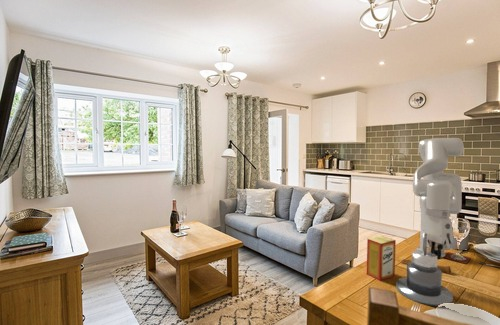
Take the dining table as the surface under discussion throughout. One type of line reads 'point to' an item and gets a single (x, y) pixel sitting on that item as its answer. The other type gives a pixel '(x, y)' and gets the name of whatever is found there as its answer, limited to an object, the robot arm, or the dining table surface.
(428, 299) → the grey stepped cylinder
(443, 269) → the primitive tool
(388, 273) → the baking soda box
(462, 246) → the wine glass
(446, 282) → the dining table surface
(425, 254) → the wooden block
